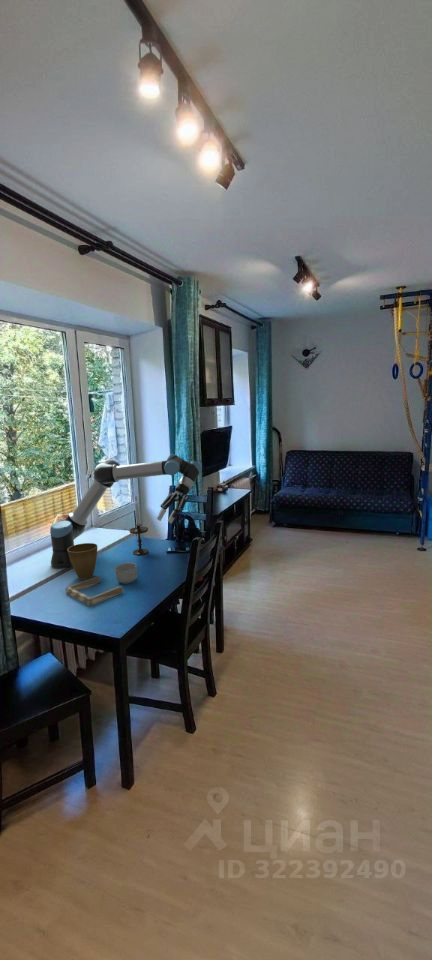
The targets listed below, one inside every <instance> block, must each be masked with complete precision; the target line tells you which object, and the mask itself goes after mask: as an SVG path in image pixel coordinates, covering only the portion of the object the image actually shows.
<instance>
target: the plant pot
mask: <svg viewBox="0 0 432 960" xmlns="http://www.w3.org/2000/svg"><path fill="white" fill-rule="evenodd" d="M67 550H68V554H69V558H70V561H71V564H72V566H71V567H72V569H73V571H74V572H75V574H76V576H77V578H78V579H80V580H88V579H91V578H93V576H94V574H95V571H96V570H95V569H96V566H97V559H98V543H97V544H96V543H93V542H90V543H89V542H87V543H85V542H84V543H83V542H82V543H78V544H74V546H71V547H69V548H68V549H67Z"/></svg>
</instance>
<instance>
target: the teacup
mask: <svg viewBox="0 0 432 960" xmlns="http://www.w3.org/2000/svg"><path fill="white" fill-rule="evenodd" d="M114 572H115V577H116V580H117V581H118V583H121V584H124V585H127V584H131V583H133V582H134V581H135V580H136V579H137V577H138V567H137V563H135V562H131V561H127V562H124V563H121V564H118V565H116V566H115V567H114Z"/></svg>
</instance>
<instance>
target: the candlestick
mask: <svg viewBox="0 0 432 960" xmlns="http://www.w3.org/2000/svg"><path fill="white" fill-rule="evenodd" d="M134 507H135V510H134V511H135V521H136V524H134V527H131V528H130V529H129V530H128V531H129V533H130V534H132V535H137V537H138V539H137V540H136V542H137V543H138V544H137V546H138V549H135V550H133V551H132V554H133V556H144V555H148V554H149V550H148V549H147V548H142V546H143V543H142V542H143V539H142V538H141V535H142V534H145V533H147V532H148V531H149V528H148V527H146V526H142V524H141V522H140V509H139V502H138V499H137V495H135V503H134Z"/></svg>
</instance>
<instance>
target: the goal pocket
mask: <svg viewBox="0 0 432 960" xmlns="http://www.w3.org/2000/svg"><path fill="white" fill-rule="evenodd" d="M100 583H101V577H100V576H99V575H97V576H94V577H91V578H88V579H85V580H83V581H81V582H78V583H75V584H72V585H69V586H67V587H65V591H66V594H67V595H68V596H70V597H72V598H73V599H76V600H78V601H80V602H82V603H83V604H85V605H87V606H90V607H91V606H94V605H96V604H99V603H101V602H103V601H106V600H109V599H110V598H113V597H115V596H118V595H120V594H123V593H124V592H123V590H124V589H123V586H122V585H119V586H116V587H114V588H111V589H108V590H106V591H103V592H101V593H99V594H96V595H94V596H91V597H90V596H88V595H87V594H84V593H82V592H80V591H81V590H84V589H87V588H89V587H92V586H94V585H97V584H100Z"/></svg>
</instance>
